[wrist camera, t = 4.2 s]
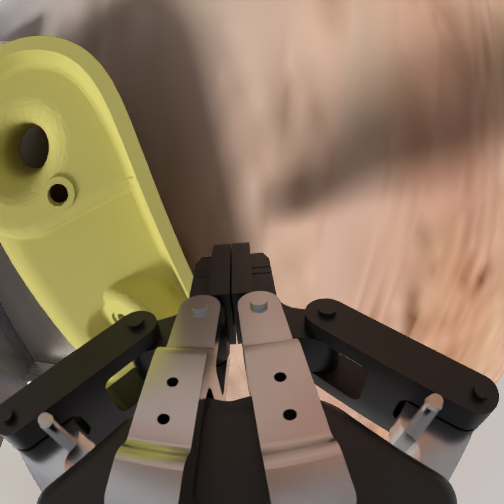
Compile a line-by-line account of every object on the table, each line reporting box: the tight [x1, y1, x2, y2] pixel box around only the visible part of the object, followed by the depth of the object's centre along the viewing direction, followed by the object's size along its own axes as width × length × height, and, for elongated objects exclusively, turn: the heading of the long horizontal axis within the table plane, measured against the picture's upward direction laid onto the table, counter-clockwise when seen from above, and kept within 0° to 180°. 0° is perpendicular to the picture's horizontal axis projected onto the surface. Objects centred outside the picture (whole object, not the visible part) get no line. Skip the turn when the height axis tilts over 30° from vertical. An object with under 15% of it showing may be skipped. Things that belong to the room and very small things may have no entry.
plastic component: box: [0, 36, 193, 388], centre depth 13 cm, size 20×7×10 cm
